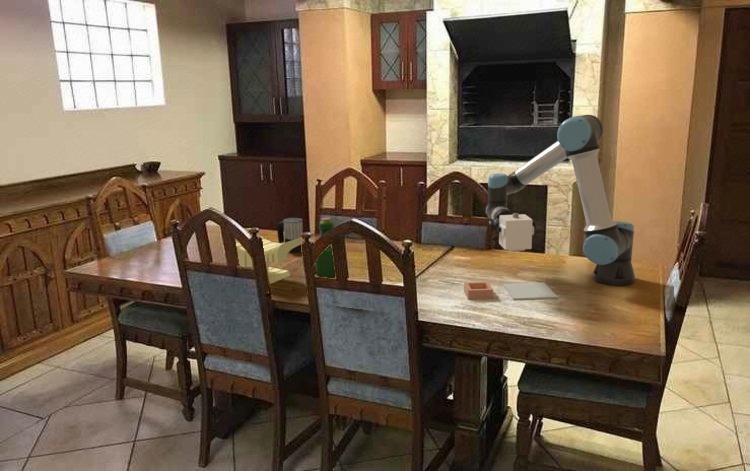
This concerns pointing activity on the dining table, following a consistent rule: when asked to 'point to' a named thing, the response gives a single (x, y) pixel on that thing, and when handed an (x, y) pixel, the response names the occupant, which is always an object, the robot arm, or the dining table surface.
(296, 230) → the milk frother
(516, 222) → the cover
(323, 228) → the bottle
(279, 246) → the slatted curved stool
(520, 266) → the dining table surface
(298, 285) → the dining table surface
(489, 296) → the dish
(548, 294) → the mat
